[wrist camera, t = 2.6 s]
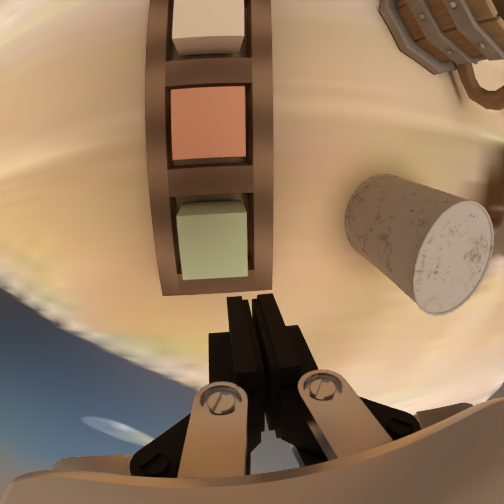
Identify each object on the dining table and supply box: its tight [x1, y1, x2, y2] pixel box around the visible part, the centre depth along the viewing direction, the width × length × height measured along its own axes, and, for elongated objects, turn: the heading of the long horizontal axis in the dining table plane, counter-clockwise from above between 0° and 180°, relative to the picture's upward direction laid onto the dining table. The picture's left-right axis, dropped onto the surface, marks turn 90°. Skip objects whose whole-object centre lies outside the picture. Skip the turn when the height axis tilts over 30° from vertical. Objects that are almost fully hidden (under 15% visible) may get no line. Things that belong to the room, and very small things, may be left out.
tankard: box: [379, 0, 504, 110], centre depth 16 cm, size 20×13×15 cm, turn 27°
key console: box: [145, 0, 273, 296], centre depth 23 cm, size 29×10×4 cm, turn 1°
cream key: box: [172, 0, 244, 56], centre depth 17 cm, size 5×5×4 cm
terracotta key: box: [171, 86, 246, 160], centre depth 20 cm, size 5×5×4 cm
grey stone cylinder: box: [345, 174, 494, 316], centre depth 24 cm, size 10×10×12 cm
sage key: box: [176, 200, 248, 280], centre depth 24 cm, size 5×5×4 cm
